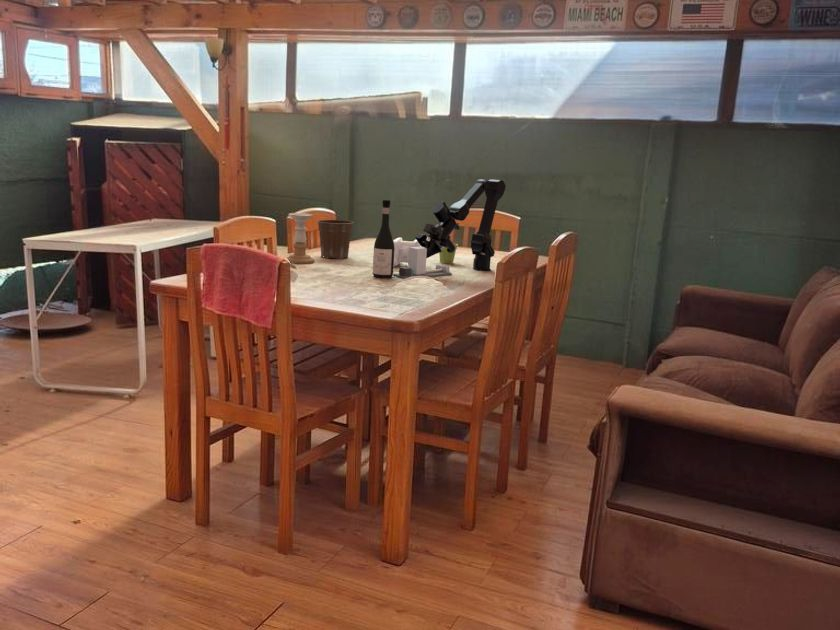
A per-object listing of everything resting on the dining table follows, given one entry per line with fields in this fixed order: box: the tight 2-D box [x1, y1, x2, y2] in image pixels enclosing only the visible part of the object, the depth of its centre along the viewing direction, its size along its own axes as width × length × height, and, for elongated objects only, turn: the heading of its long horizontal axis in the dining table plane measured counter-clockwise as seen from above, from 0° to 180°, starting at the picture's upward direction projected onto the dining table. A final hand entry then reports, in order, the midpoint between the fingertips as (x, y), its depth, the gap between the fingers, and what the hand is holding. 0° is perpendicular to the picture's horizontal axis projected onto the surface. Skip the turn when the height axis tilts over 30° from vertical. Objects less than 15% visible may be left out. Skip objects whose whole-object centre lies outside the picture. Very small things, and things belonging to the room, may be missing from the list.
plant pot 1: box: [316, 219, 355, 259], centre depth 325 cm, size 16×16×16 cm
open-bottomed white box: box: [407, 246, 427, 275], centre depth 289 cm, size 5×5×10 cm
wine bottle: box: [372, 199, 395, 279], centre depth 281 cm, size 8×8×30 cm
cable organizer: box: [393, 237, 421, 267], centre depth 313 cm, size 15×11×12 cm
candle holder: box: [285, 212, 315, 264], centre depth 306 cm, size 12×12×20 cm
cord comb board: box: [392, 264, 453, 280], centre depth 292 cm, size 25×8×4 cm, turn 133°
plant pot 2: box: [438, 242, 459, 265], centre depth 329 cm, size 9×9×9 cm
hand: (423, 258), depth 291 cm, fingers closed
